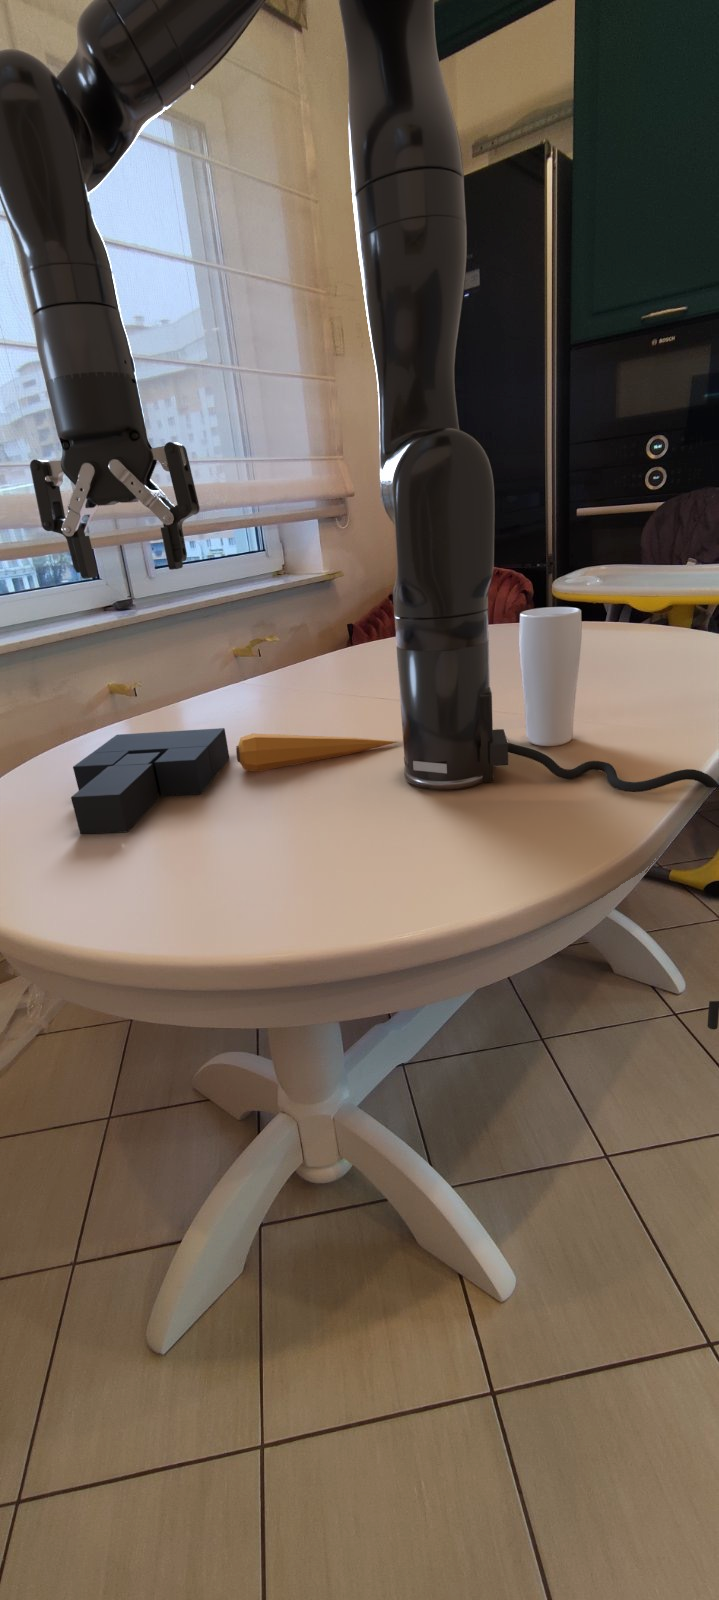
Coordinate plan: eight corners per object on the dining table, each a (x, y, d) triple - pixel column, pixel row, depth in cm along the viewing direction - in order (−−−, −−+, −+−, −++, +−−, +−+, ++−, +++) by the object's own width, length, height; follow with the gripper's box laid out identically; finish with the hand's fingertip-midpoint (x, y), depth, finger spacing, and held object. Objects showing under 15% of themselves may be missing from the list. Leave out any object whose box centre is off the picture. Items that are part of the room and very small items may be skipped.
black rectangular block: (171, 784, 83) (164, 751, 82) (128, 832, 71) (119, 794, 70) (130, 786, 84) (122, 754, 82) (80, 834, 72) (70, 797, 70)
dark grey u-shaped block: (229, 758, 90) (224, 727, 89) (201, 794, 79) (194, 759, 78) (123, 764, 92) (116, 734, 91) (80, 800, 81) (72, 766, 80)
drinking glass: (581, 749, 82) (584, 613, 76) (519, 750, 83) (518, 617, 78) (576, 731, 88) (580, 605, 82) (519, 732, 89) (519, 608, 84)
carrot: (239, 781, 84) (240, 750, 81) (234, 756, 87) (234, 726, 84) (402, 767, 90) (407, 738, 87) (391, 745, 93) (396, 716, 90)
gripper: (-11, 382, 60) (42, 585, 66) (154, 357, 58) (193, 569, 64) (35, 394, 66) (80, 577, 72) (184, 372, 65) (217, 562, 71)
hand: (133, 573), depth 68 cm, fingers open, 8 cm apart
